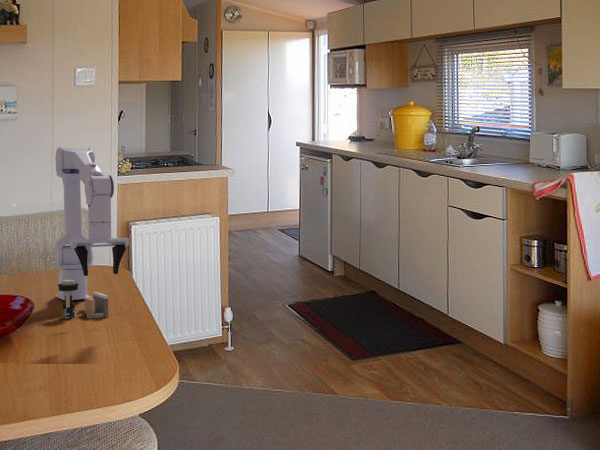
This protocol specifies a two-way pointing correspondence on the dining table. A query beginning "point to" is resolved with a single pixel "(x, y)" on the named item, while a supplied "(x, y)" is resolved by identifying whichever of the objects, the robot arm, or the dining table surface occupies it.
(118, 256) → the robot arm
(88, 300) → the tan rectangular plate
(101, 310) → the grey l-shaped bracket
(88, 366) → the dining table surface
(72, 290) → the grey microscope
